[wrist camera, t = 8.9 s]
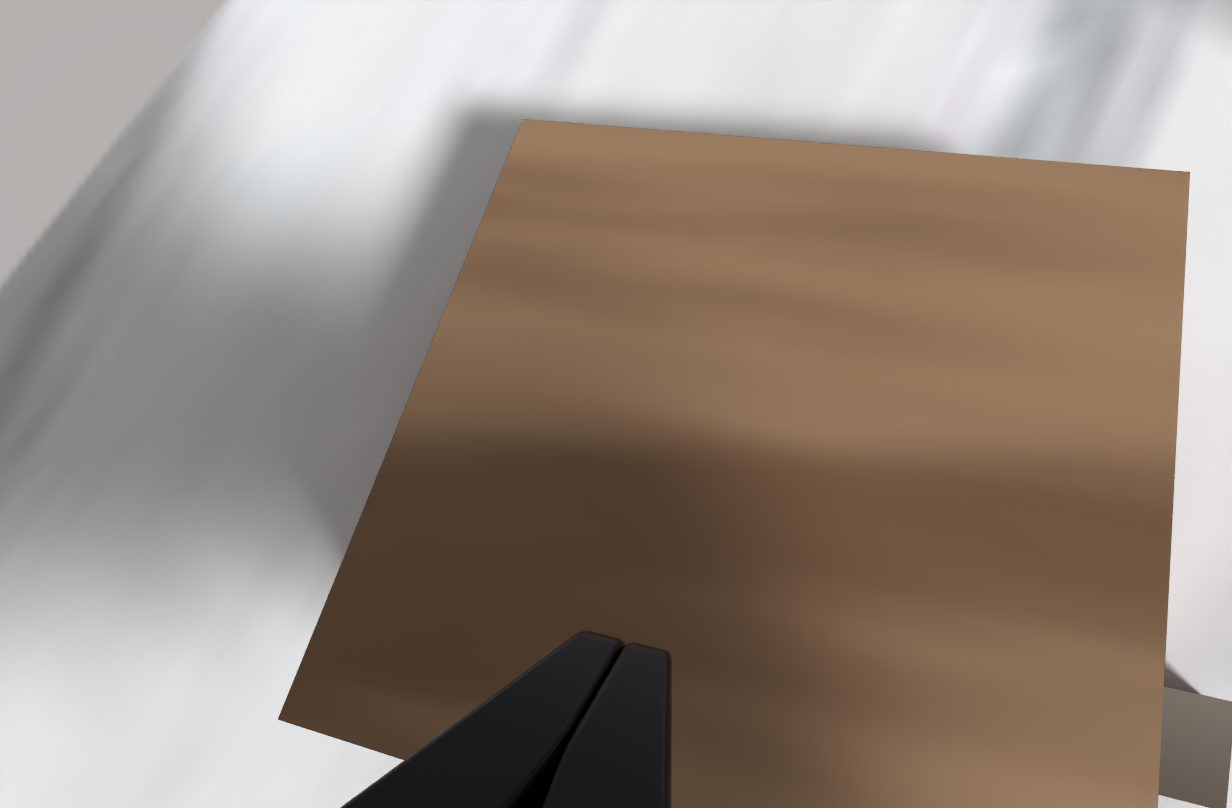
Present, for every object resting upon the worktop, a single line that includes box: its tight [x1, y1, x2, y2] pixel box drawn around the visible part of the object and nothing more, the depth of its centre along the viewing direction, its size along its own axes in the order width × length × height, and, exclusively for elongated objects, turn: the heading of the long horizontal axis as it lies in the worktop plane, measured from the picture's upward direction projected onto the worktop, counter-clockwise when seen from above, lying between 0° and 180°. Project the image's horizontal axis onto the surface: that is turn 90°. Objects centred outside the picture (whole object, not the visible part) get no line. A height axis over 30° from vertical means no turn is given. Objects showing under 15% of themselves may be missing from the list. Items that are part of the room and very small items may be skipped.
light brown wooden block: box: [278, 119, 1190, 808], centre depth 14 cm, size 4×10×10 cm
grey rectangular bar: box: [1158, 687, 1232, 808], centre depth 16 cm, size 2×14×1 cm, turn 77°
